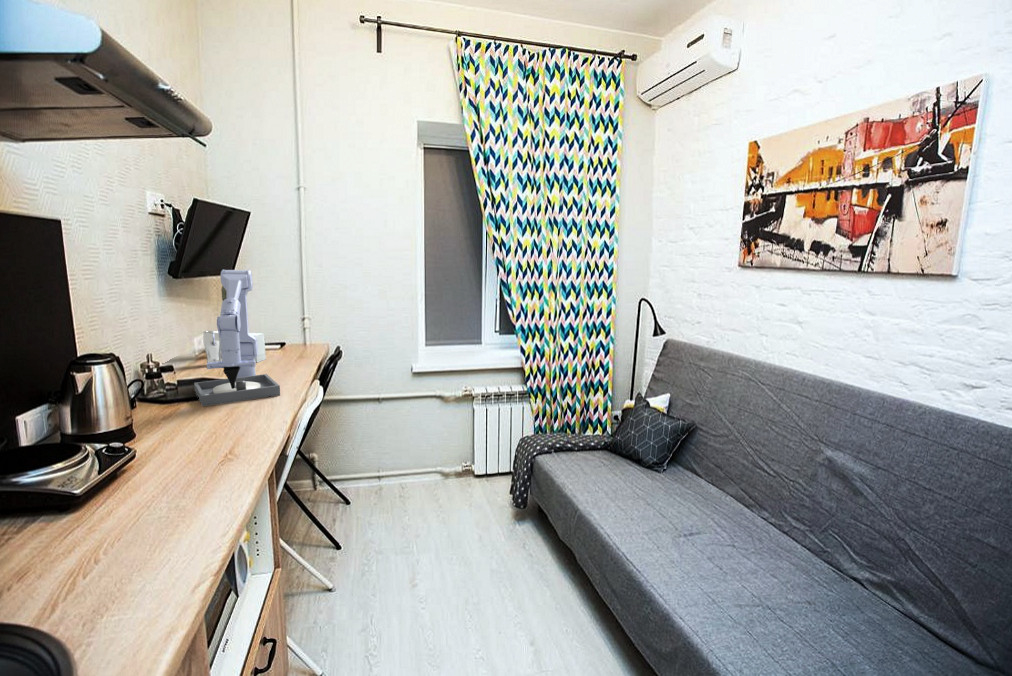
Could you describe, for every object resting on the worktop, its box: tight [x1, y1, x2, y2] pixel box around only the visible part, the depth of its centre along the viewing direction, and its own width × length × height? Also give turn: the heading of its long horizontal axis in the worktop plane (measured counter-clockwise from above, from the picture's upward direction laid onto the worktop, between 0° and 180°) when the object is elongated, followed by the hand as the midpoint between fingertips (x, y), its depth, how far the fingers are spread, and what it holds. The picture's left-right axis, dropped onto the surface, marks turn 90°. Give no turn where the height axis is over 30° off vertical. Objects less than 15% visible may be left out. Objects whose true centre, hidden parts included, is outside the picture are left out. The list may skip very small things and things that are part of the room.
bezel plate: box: [193, 373, 281, 407], centre depth 174 cm, size 20×24×4 cm
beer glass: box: [202, 330, 222, 364], centre depth 214 cm, size 7×7×15 cm
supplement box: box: [242, 332, 267, 364], centre depth 224 cm, size 7×7×13 cm
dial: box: [213, 380, 260, 394], centre depth 174 cm, size 16×15×5 cm
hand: (233, 387), depth 168 cm, fingers closed
